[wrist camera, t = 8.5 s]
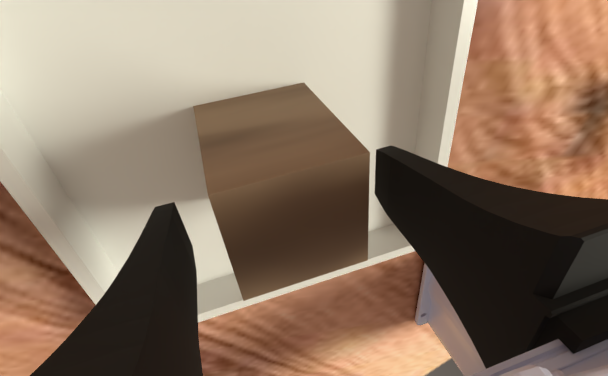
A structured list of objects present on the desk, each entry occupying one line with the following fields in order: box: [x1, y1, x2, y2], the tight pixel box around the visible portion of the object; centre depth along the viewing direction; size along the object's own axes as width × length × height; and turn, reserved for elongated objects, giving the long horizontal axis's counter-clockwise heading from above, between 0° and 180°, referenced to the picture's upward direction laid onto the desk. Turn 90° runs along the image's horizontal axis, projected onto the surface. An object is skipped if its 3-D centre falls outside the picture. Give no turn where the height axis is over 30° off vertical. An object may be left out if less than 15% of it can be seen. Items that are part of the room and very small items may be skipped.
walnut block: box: [193, 83, 370, 301], centre depth 13 cm, size 4×4×6 cm
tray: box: [0, 0, 478, 322], centre depth 15 cm, size 16×17×2 cm
